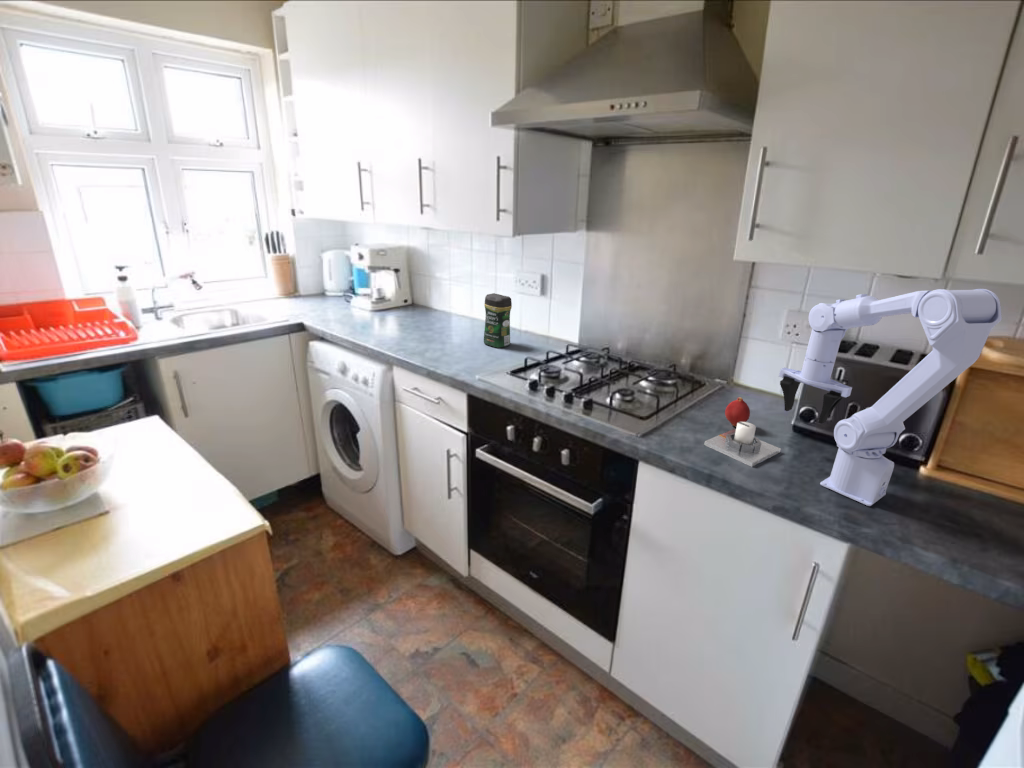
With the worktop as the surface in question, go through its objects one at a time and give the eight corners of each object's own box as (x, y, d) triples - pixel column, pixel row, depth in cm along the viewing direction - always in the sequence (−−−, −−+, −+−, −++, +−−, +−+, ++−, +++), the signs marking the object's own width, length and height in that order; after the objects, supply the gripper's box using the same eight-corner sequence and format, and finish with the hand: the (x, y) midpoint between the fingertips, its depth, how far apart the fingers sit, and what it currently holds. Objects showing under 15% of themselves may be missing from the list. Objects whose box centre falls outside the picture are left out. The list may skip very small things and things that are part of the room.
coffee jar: (479, 343, 191) (480, 293, 185) (494, 339, 197) (496, 290, 190) (498, 349, 186) (500, 298, 179) (513, 345, 191) (515, 295, 184)
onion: (727, 419, 137) (732, 390, 134) (749, 425, 134) (756, 397, 131) (719, 426, 133) (725, 397, 130) (742, 433, 129) (749, 403, 127)
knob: (755, 445, 121) (759, 425, 119) (745, 450, 119) (750, 430, 117) (739, 439, 124) (743, 419, 122) (729, 443, 121) (733, 424, 120)
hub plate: (779, 452, 121) (782, 442, 120) (751, 466, 114) (753, 456, 113) (732, 432, 130) (734, 423, 129) (704, 444, 123) (705, 435, 122)
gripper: (864, 365, 109) (847, 423, 114) (795, 347, 120) (782, 401, 125) (849, 371, 105) (832, 431, 110) (779, 351, 116) (766, 407, 121)
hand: (804, 415), depth 117 cm, fingers open, 7 cm apart
